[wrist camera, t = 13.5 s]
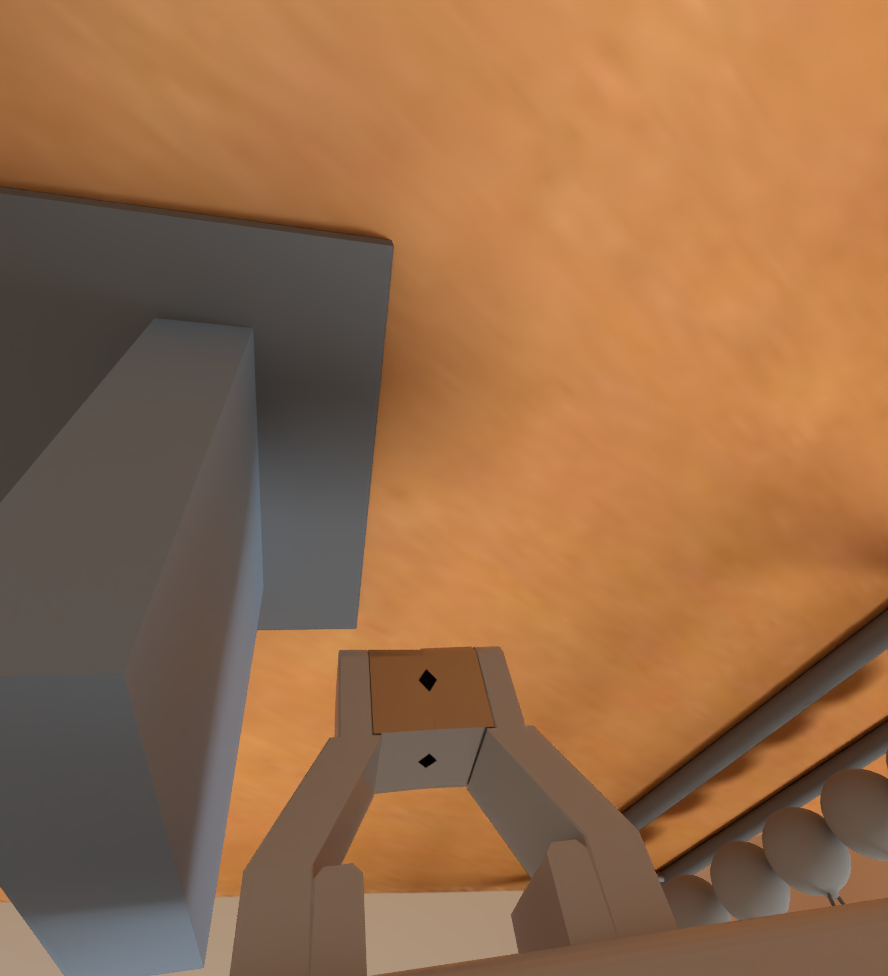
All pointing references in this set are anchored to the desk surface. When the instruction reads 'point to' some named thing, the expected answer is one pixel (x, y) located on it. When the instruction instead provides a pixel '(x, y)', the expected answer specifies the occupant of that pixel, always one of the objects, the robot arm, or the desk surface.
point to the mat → (216, 300)
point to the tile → (131, 654)
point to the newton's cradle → (782, 809)
